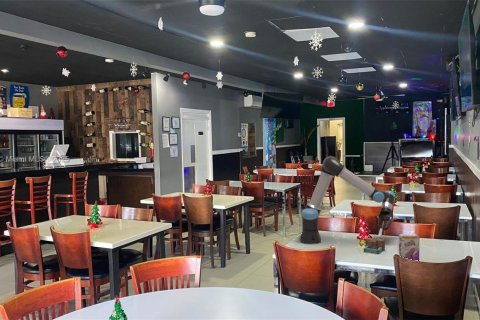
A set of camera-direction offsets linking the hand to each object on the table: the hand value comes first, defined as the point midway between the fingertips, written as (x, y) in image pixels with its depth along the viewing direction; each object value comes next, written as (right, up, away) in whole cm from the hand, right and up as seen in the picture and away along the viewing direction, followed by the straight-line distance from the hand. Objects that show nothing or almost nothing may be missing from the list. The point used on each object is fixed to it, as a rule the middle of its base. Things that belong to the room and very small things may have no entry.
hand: (379, 237), depth 291 cm
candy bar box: (+5, -8, -37) cm, 38 cm away
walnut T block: (-8, -7, -11) cm, 15 cm away
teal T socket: (-9, -7, -13) cm, 18 cm away
